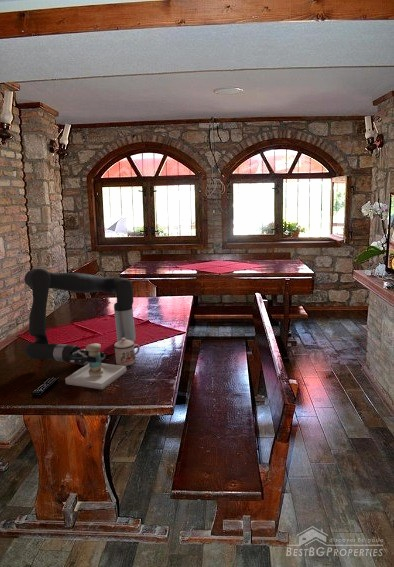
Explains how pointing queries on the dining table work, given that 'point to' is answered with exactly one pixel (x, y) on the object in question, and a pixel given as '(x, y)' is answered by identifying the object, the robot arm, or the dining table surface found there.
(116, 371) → the tray
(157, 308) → the dining table surface
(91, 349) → the spool
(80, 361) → the socket
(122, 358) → the teacup with lid
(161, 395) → the dining table surface
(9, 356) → the dining table surface
